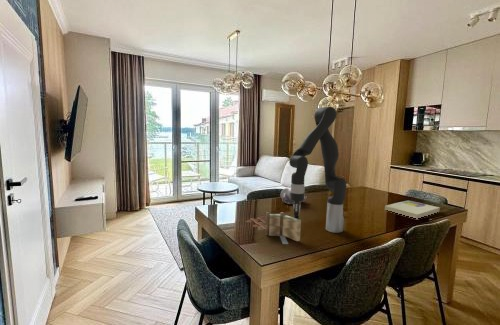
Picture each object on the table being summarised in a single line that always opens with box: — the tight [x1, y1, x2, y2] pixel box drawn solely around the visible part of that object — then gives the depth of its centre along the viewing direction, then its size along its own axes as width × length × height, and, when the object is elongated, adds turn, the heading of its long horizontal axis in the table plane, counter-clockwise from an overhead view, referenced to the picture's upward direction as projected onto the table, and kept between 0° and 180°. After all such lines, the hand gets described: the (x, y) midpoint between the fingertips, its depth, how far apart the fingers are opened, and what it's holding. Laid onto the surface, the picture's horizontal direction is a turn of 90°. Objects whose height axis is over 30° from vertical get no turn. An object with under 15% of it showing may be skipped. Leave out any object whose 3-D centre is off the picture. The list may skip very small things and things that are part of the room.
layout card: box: [268, 235, 289, 245], centre depth 137 cm, size 24×15×1 cm, turn 93°
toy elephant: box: [279, 186, 308, 205], centre depth 209 cm, size 20×18×15 cm
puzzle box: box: [384, 200, 441, 220], centre depth 193 cm, size 36×5×24 cm
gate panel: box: [282, 214, 302, 242], centre depth 136 cm, size 10×2×12 cm, turn 44°
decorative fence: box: [245, 216, 266, 231], centre depth 157 cm, size 23×2×15 cm
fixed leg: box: [265, 211, 285, 236], centre depth 140 cm, size 10×2×13 cm, turn 93°
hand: (296, 221), depth 137 cm, fingers closed
